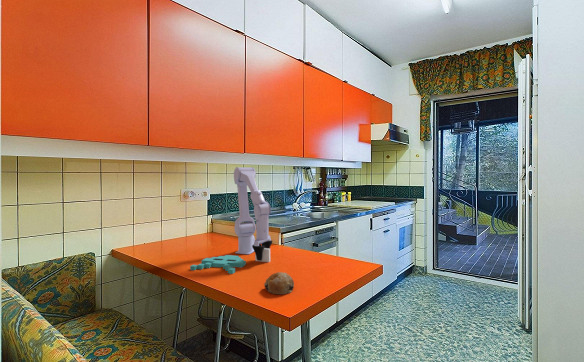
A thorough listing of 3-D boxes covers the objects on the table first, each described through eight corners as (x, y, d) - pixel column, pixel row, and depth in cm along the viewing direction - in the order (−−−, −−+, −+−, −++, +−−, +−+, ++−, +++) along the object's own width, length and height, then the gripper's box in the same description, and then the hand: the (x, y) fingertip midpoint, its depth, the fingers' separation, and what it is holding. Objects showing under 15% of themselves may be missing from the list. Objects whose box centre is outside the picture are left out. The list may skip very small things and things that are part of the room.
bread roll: (282, 306, 108) (291, 287, 107) (257, 290, 111) (266, 271, 110) (292, 295, 117) (301, 277, 116) (269, 281, 121) (277, 263, 119)
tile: (256, 260, 151) (256, 247, 151) (270, 261, 149) (270, 248, 149) (255, 261, 150) (255, 248, 150) (269, 262, 148) (268, 249, 147)
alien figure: (232, 275, 131) (251, 261, 151) (232, 269, 131) (251, 256, 151) (190, 271, 137) (213, 258, 156) (190, 266, 137) (213, 254, 156)
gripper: (264, 232, 141) (264, 263, 141) (276, 226, 154) (276, 254, 155) (249, 231, 143) (250, 261, 143) (262, 226, 157) (263, 253, 157)
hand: (262, 258), depth 149 cm, fingers open, 7 cm apart
